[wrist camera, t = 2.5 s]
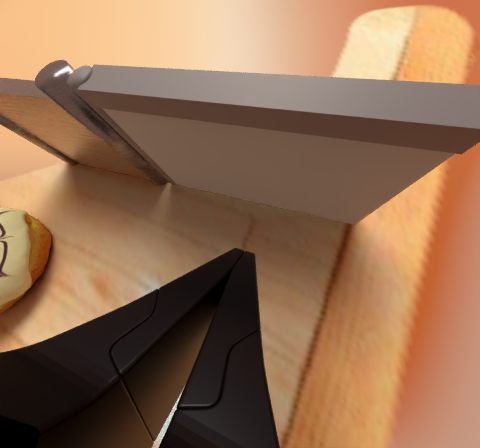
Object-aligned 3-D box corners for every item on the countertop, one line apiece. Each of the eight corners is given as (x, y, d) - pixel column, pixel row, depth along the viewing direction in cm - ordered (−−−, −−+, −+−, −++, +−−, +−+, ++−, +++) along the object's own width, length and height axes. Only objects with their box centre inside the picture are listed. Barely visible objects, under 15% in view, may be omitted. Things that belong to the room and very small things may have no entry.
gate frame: (65, 163, 22) (-91, 75, 13) (74, 149, 22) (-70, 53, 13) (165, 187, 19) (54, 90, 9) (173, 170, 19) (75, 60, 10)
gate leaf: (166, 183, 18) (61, 87, 9) (172, 169, 18) (77, 63, 10) (353, 227, 14) (496, 130, 5) (357, 207, 14) (495, 85, 5)
